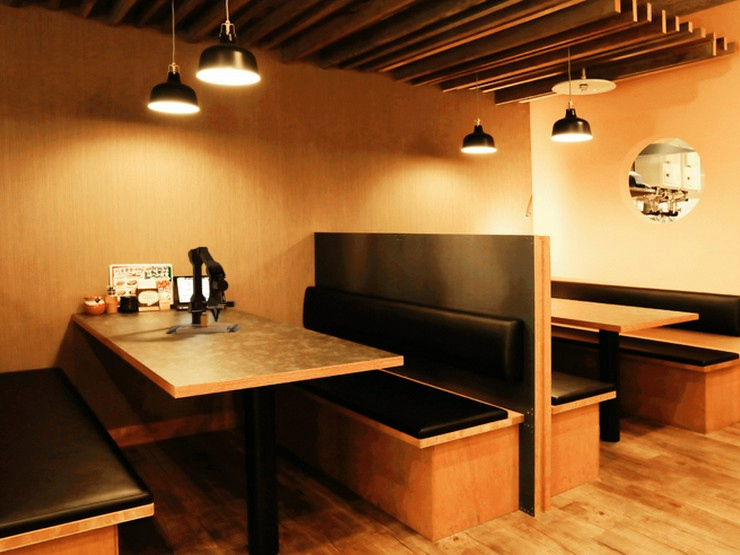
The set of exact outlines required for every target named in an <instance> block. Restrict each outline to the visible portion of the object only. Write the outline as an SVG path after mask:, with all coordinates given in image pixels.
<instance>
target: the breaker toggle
mask: <svg viewBox="0 0 740 555" xmlns="http://www.w3.org/2000/svg"><path fill="white" fill-rule="evenodd" d="M209 324H210V316H209V314H208V313H203V314H202V316H201V326H208V325H209Z"/></svg>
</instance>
